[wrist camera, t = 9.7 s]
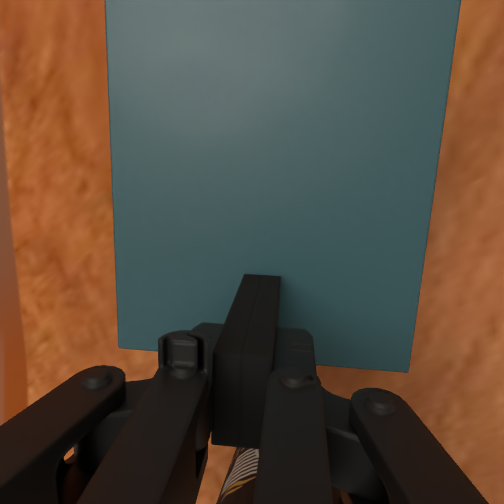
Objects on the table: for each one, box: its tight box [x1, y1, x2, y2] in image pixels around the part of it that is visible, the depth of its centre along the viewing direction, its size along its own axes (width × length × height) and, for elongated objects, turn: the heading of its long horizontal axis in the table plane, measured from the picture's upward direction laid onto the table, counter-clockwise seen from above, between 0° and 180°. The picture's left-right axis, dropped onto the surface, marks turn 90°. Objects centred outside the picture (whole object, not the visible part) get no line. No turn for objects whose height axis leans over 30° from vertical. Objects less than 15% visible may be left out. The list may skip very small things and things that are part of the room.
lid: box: [105, 0, 461, 373], centre depth 16 cm, size 14×13×1 cm
